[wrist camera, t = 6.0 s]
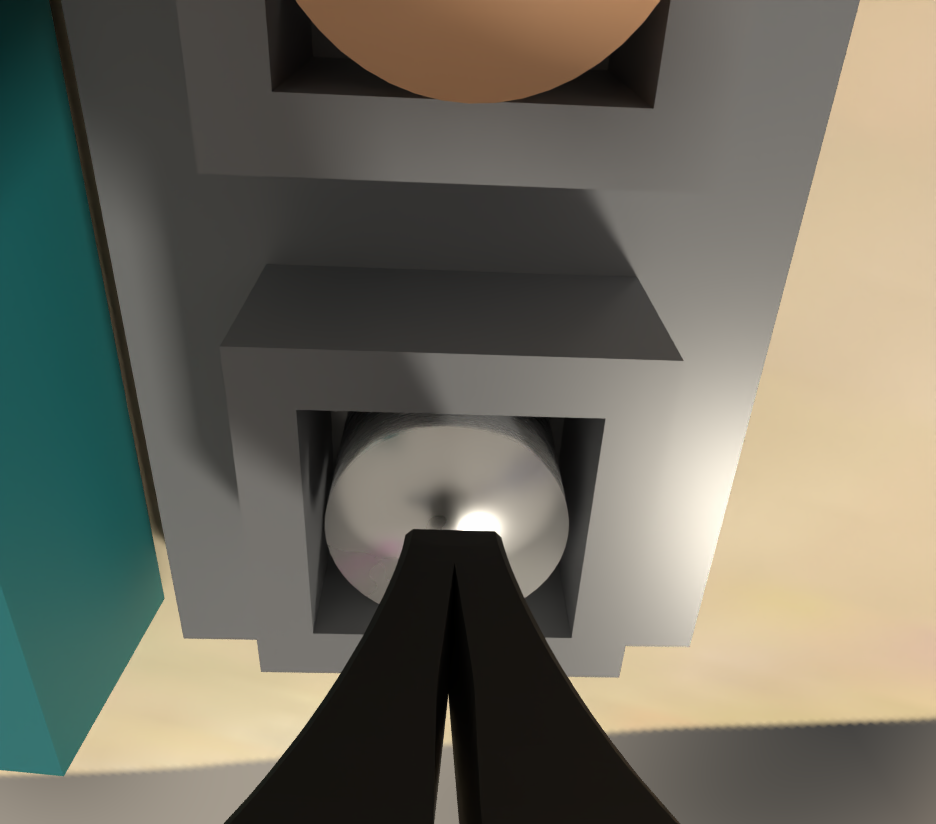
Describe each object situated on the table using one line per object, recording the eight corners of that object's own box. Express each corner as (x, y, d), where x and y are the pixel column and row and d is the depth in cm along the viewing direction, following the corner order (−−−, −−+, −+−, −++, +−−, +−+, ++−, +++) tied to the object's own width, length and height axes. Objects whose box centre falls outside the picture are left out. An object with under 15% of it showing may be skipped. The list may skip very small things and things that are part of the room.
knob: (559, 345, 15) (582, 432, 12) (539, 517, 17) (556, 622, 14) (341, 338, 15) (318, 424, 12) (349, 512, 17) (329, 618, 14)
